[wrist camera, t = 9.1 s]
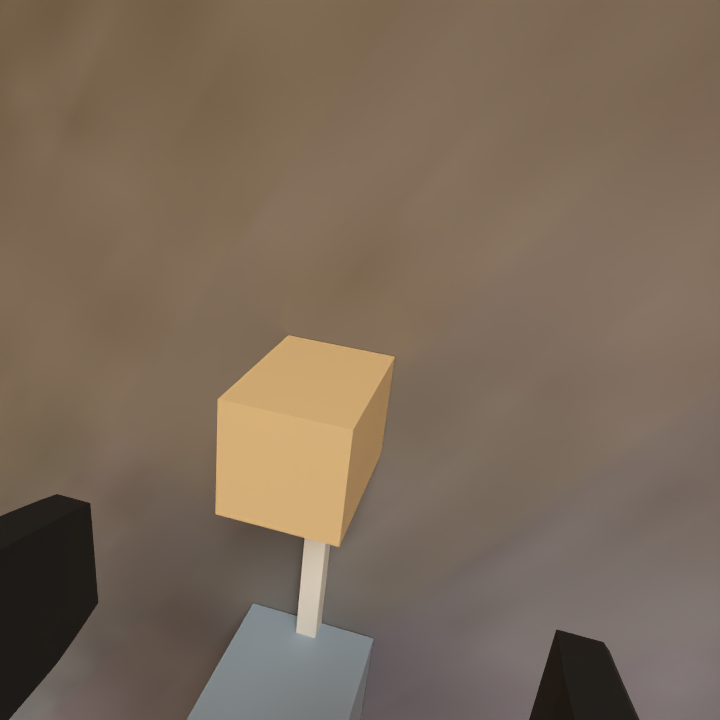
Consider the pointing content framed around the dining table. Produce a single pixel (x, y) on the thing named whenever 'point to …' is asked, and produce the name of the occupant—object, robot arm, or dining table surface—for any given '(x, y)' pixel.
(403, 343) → the dining table surface
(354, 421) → the tethered block
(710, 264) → the dining table surface
